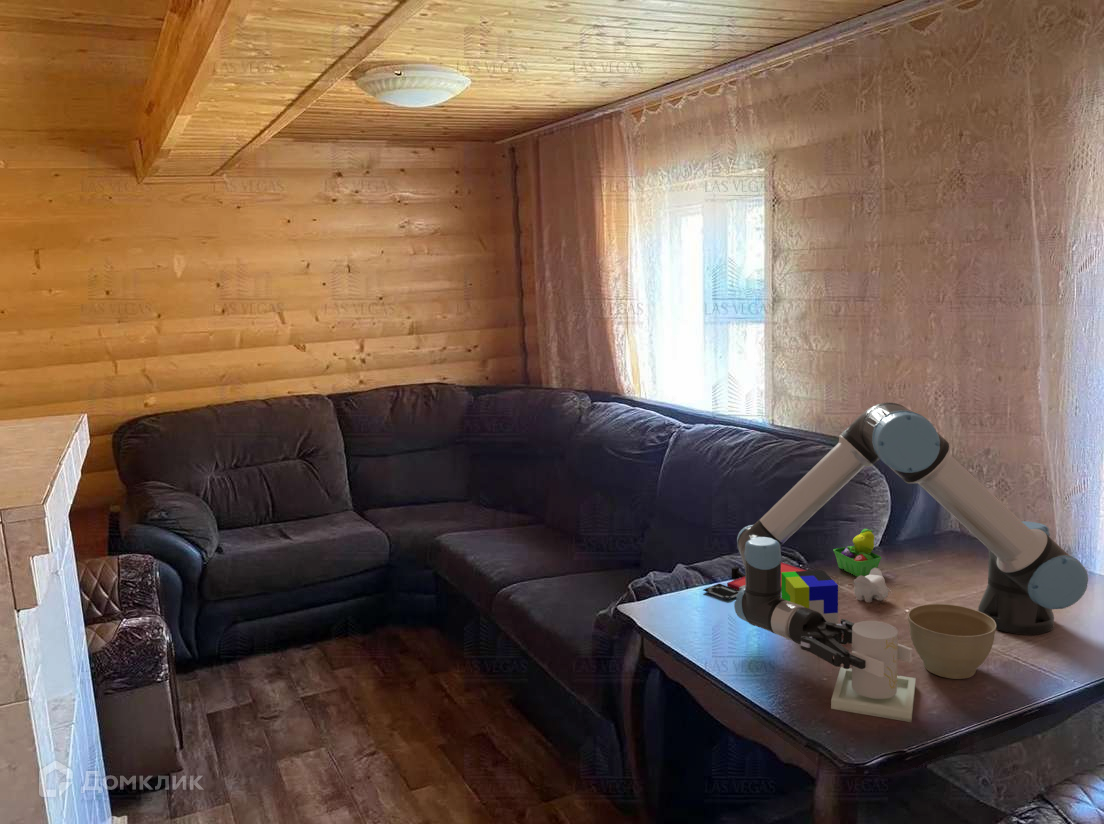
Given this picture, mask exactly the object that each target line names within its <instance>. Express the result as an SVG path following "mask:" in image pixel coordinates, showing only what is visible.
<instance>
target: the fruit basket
mask: <svg viewBox="0 0 1104 824" xmlns="http://www.w3.org/2000/svg"><path fill="white" fill-rule="evenodd" d="M875 539H876V537H875V534H874V533H873V530H871V529H868V528H864V529H862V530H861V532H860V534H857V535H856V536H854V538H853V539H852V543H853V545H850V546H849V545H848V546H845V547H843V546H842V547H838V548H833V554H834V555H835V558H836V563H837V566H838V568H839V569H841V570H843V569H844V570H843V571H845V572H847V573H849V574H850V573H851V575H852V574H853V576H855V577H856V578H857V577H858V576H860V575H862V576H864V577H865V576H867V575H869V574H870V571H871V570H872V569H873V568H878V567H879V564H880V562H881V560H882V556H880V555H878V554H876V553H874V552H872V551H873V549H874V548H875ZM878 569H879V568H878Z"/></svg>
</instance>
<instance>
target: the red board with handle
mask: <svg viewBox="0 0 1104 824" xmlns="http://www.w3.org/2000/svg"><path fill="white" fill-rule="evenodd" d="M796 571H808V570H807V569H803V568H800V567H797V566H794V565H791V564H788V563H785V562H782V561H781V572H796ZM737 577H738V578H737ZM731 578H733V579H734V580H732V581H729V582H727V584H726V585H725V584H722V583H717V584H714V585H712V586H708V587H706V588H704V589H702V591H704V592H707V593H709V594H712V595H715V596H717V597H719V598H722V599H724V600H727V601H728V600H730V599H733V598H735V597H736V596H737V594H738V593H739V591H740V590H742V589H743V588H745V586H746V582H745V574H744V573H742V572H741V571H740V567H739V566H734V567H732V568H731ZM735 578H736V579H735ZM736 598H737V597H736Z"/></svg>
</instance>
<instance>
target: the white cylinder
mask: <svg viewBox="0 0 1104 824" xmlns="http://www.w3.org/2000/svg"><path fill="white" fill-rule="evenodd" d="M898 641H899V630H898V629H897V627H895V626H893V625H892V624H889V623H888V622H887V623H886V622H883V621H878V620H861V621H858V622H856V623H855V624H854V625H853V626H852V644H851V652H852V651H856V652H859V653H861V654H863V655H866V656H869V657H871V658H874V659H876V660H879V661H881V662H884V676H883V677H879V676H876V675H874V674H872V673H869V672H867V671H864V670H862V669H859V668H857V667H854V666H852V665H851V669H852V688H853V690H854V691H855V692H856V693H858V694H860V695H862V696H865V697H868V698H874V699H886V698H890V697H893V696H894V695H895V694H896V693H897V675H898V660H899V659H898V644H899V642H898Z"/></svg>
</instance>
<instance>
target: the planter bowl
mask: <svg viewBox="0 0 1104 824" xmlns="http://www.w3.org/2000/svg"><path fill="white" fill-rule="evenodd" d="M907 620H908V622H909V623H908V627H909V628H908V629H909V634H910V640H911V641H912V644H913V646H914V649H915V651H916V652H917V654H918V657H920V658H921V660H922V661H923V666H924V668H925V669H926V670H927V671H928V672H930V673H932V674H934V675H936V676H939V677H942V678H947V679H953V680H962V679H963V680H964V679H968V678H969V679H970V678H971V677H973V676H974V675H975V674H976V672H977V669H978V668H980V666H981V665H982V664H983V663H984V662H985V660H986V659H987V658H988V656H989V655H990V653H991V651H992V648H993V645H994V640H995V634H996V632H997V629H996V622H995V621H994V620H993V619H992V618H991V617H989V616H988V615H986V614H984V613H982V612H980V611H978V609H977V610H976V609H973V608H970V607H966V606H962V605H956V604H949V603H946V604H945V603H932V604H931V603H930V604H923V605H918V606H917V605H916V606H915V607H913V608H911V609H910V610H909V611H908V613H907Z"/></svg>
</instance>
